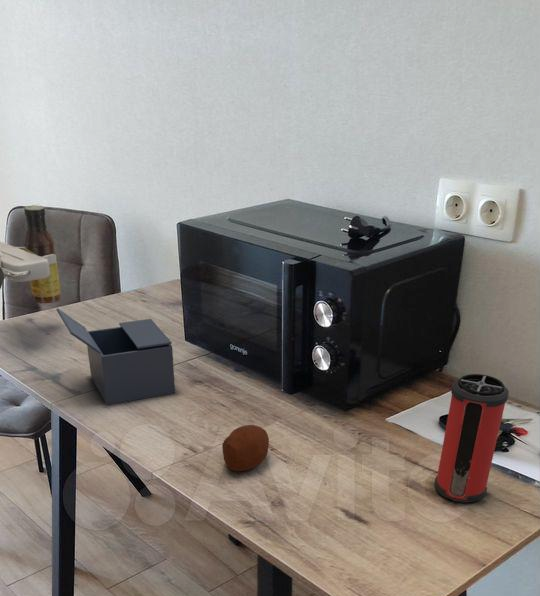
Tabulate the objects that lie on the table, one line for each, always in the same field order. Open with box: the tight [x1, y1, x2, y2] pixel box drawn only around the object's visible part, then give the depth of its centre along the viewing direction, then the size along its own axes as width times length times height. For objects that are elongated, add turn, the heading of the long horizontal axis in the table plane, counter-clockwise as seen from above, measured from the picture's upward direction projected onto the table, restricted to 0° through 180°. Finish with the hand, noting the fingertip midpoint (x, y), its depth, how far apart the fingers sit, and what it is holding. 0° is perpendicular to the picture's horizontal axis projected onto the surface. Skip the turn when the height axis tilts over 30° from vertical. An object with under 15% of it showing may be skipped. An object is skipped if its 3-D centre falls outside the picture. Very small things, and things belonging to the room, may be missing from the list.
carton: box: [86, 318, 176, 406], centre depth 133 cm, size 13×13×10 cm
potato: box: [221, 424, 270, 472], centre depth 111 cm, size 7×9×6 cm
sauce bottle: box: [23, 204, 61, 304], centre depth 151 cm, size 7×6×20 cm
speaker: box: [434, 373, 510, 504], centre depth 103 cm, size 8×8×18 cm
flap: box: [55, 307, 101, 354], centre depth 126 cm, size 6×13×1 cm
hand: (44, 254), depth 151 cm, fingers closed on sauce bottle, 6 cm apart
